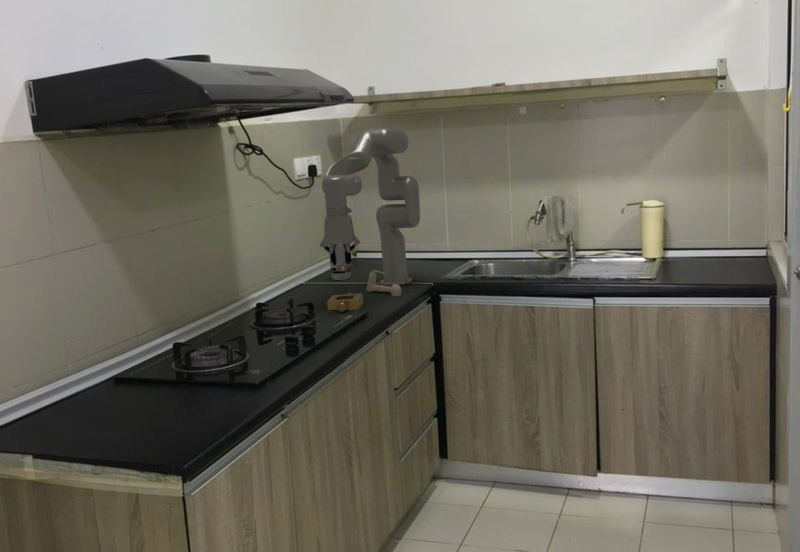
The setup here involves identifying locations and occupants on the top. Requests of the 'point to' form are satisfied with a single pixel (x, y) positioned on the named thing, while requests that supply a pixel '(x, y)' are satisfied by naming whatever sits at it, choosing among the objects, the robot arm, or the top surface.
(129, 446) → the top surface
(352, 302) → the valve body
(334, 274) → the supplement can
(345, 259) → the pipe stub
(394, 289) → the faucet
